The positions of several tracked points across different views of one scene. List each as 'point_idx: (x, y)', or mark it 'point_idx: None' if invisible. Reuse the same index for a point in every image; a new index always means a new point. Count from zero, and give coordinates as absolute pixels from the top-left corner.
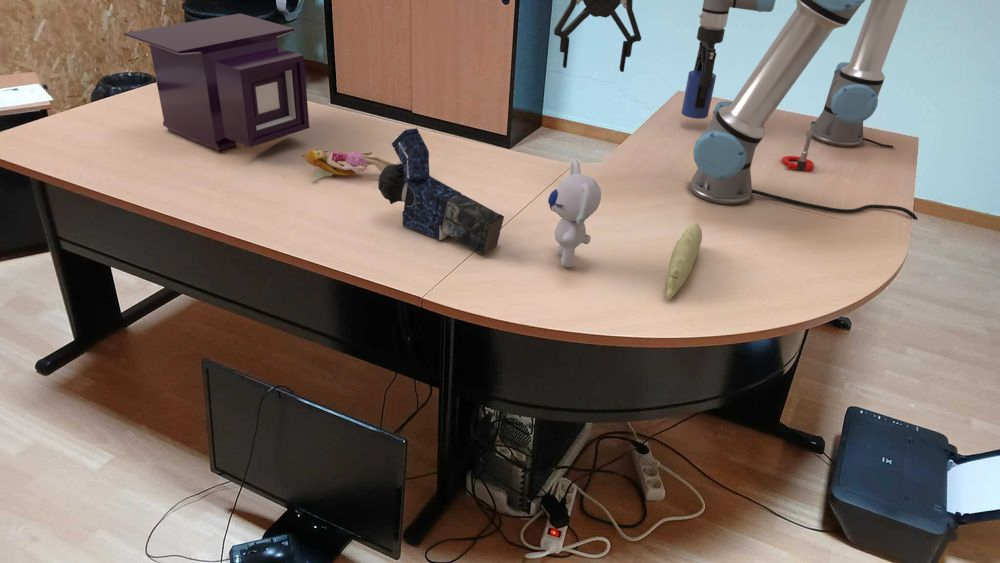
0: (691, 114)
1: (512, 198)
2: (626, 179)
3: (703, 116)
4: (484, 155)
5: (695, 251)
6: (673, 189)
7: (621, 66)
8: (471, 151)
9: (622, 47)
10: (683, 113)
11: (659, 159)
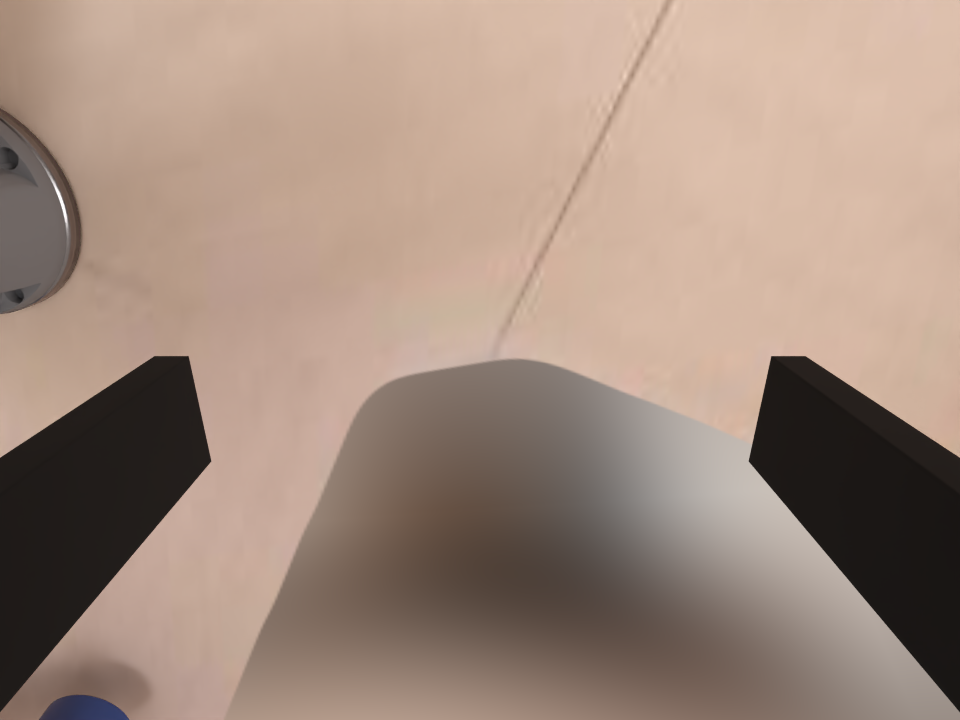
0: (91, 708)
1: (747, 5)
2: (309, 263)
3: (54, 705)
4: None
5: None
6: (139, 204)
7: (155, 379)
8: None
9: (61, 637)
10: (121, 718)
11: None
